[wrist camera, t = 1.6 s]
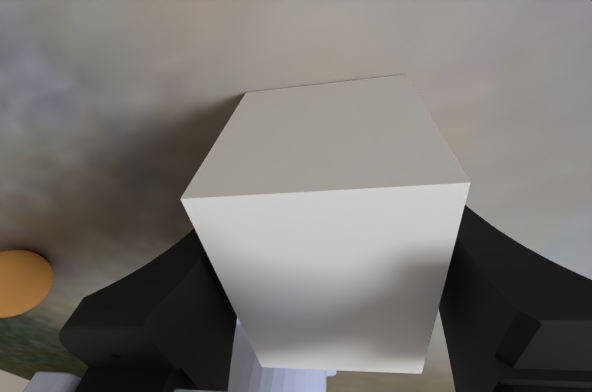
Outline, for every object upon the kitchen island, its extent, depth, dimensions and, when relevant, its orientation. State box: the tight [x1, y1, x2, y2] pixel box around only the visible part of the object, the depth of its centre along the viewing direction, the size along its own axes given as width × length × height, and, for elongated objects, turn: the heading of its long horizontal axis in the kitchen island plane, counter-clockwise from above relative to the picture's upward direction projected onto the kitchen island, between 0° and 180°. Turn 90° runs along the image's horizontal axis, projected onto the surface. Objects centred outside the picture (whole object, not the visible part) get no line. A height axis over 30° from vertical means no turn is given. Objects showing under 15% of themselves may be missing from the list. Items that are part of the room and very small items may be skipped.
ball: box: [0, 250, 53, 317], centre depth 19 cm, size 4×4×4 cm
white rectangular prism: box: [181, 74, 471, 374], centre depth 11 cm, size 9×6×7 cm
